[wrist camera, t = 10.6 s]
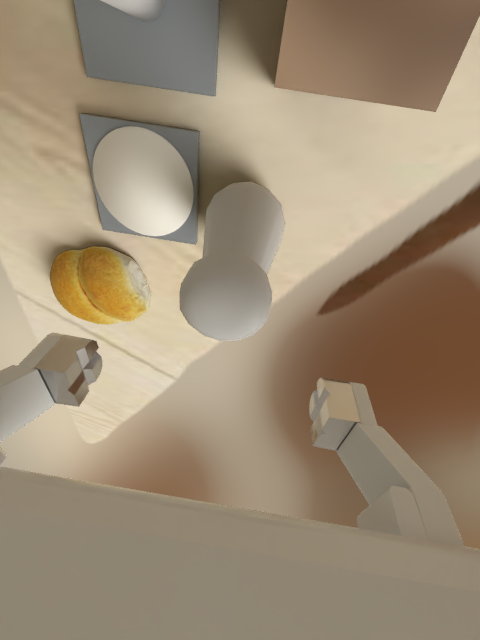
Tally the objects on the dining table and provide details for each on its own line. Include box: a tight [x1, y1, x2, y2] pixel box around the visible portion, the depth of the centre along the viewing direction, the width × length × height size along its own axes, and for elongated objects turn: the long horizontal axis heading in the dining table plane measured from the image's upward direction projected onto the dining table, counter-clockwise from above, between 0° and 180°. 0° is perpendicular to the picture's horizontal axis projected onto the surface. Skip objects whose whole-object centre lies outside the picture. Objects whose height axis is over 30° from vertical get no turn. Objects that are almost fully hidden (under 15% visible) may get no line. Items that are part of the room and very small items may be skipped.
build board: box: [79, 113, 199, 245], centre depth 21 cm, size 8×8×1 cm
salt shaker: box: [180, 181, 285, 341], centre depth 17 cm, size 6×6×13 cm
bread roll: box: [50, 246, 151, 324], centre depth 27 cm, size 8×9×4 cm
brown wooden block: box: [274, 0, 480, 112], centre depth 12 cm, size 6×6×8 cm
